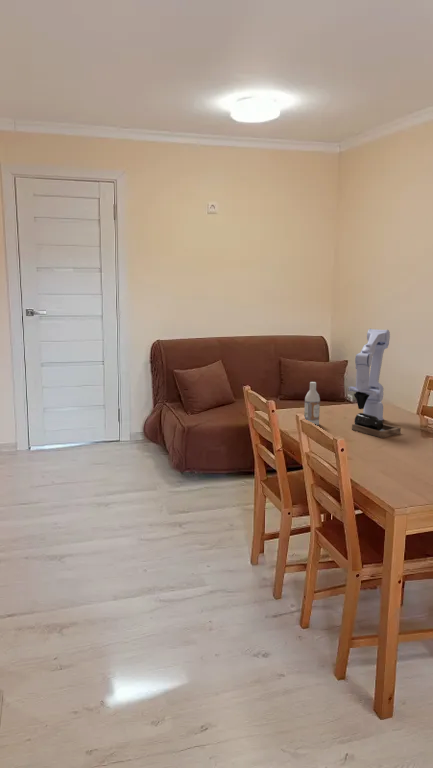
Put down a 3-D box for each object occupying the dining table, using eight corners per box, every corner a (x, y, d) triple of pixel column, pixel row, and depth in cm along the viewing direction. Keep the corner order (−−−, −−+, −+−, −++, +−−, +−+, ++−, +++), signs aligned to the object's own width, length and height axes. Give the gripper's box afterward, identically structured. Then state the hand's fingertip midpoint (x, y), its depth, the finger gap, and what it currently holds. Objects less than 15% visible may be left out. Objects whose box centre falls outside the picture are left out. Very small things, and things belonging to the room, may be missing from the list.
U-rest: (370, 425, 273) (370, 420, 272) (400, 433, 260) (400, 428, 259) (351, 430, 265) (352, 424, 265) (381, 438, 252) (381, 432, 252)
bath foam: (311, 426, 271) (312, 384, 267) (301, 423, 276) (302, 381, 273) (322, 424, 274) (323, 382, 271) (311, 421, 280) (313, 380, 276)
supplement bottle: (365, 415, 271) (387, 421, 261) (359, 429, 270) (381, 435, 260) (357, 410, 267) (379, 415, 257) (351, 423, 266) (372, 429, 256)
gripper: (344, 378, 269) (343, 406, 272) (369, 382, 258) (367, 412, 260) (354, 376, 273) (353, 405, 276) (379, 381, 262) (378, 410, 264)
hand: (361, 408), depth 268 cm, fingers closed
